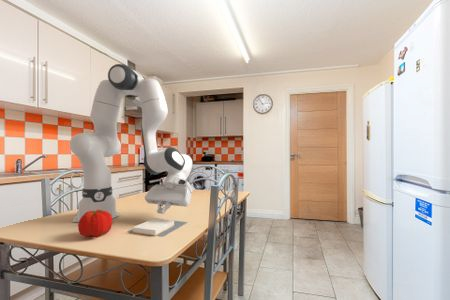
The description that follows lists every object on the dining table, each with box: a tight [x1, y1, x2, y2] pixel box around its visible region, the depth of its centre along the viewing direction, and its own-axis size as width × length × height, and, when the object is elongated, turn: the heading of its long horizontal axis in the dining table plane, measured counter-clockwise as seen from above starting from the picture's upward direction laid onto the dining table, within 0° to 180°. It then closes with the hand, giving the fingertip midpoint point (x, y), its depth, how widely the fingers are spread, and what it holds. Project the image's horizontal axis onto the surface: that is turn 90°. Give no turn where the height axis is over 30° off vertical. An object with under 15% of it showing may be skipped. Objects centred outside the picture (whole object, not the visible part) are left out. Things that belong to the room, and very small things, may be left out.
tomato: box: [77, 210, 113, 238], centre depth 83 cm, size 11×11×9 cm
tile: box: [132, 218, 175, 237], centre depth 89 cm, size 2×10×12 cm
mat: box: [126, 218, 189, 238], centre depth 92 cm, size 18×16×1 cm
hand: (160, 212), depth 92 cm, fingers closed
